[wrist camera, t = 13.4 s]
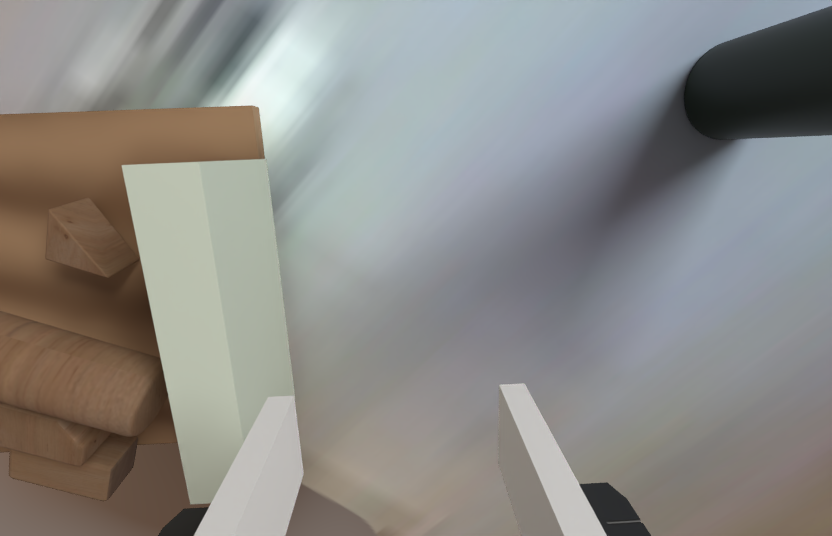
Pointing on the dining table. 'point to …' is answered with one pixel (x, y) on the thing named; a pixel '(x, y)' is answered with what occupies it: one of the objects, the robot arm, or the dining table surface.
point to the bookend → (212, 303)
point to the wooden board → (104, 184)
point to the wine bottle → (766, 82)
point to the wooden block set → (75, 377)
